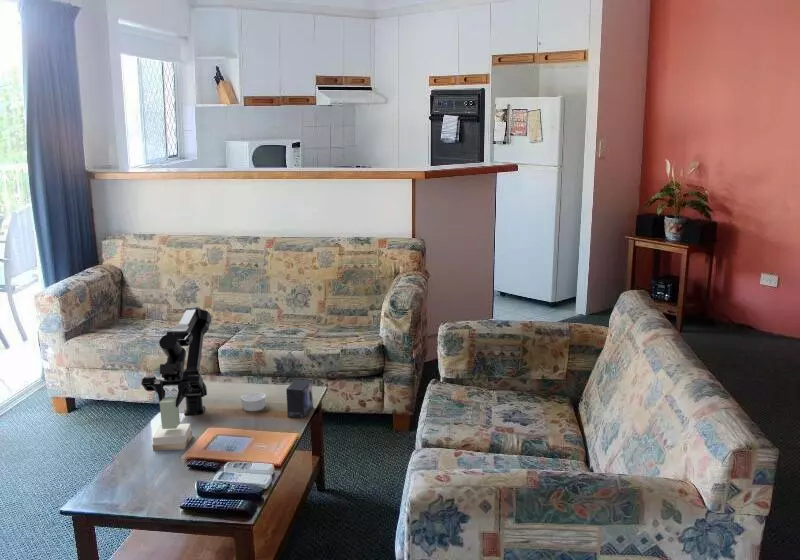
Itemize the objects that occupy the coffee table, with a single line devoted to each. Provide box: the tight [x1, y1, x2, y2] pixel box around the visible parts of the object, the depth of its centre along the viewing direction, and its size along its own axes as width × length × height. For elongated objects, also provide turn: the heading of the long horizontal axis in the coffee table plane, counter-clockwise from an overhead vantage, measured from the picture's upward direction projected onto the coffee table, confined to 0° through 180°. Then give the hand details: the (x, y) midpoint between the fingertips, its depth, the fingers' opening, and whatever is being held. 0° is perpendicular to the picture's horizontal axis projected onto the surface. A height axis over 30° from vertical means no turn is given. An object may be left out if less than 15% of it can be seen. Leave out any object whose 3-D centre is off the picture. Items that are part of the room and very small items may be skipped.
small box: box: [286, 379, 314, 419], centre depth 265 cm, size 11×6×10 cm, turn 168°
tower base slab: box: [152, 430, 193, 451], centre depth 243 cm, size 10×10×2 cm
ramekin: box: [240, 391, 267, 412], centre depth 272 cm, size 9×9×4 cm
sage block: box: [159, 396, 181, 429], centre depth 241 cm, size 4×4×9 cm
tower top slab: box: [152, 423, 192, 445], centre depth 243 cm, size 10×10×2 cm
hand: (169, 407), depth 241 cm, fingers closed on sage block, 4 cm apart
